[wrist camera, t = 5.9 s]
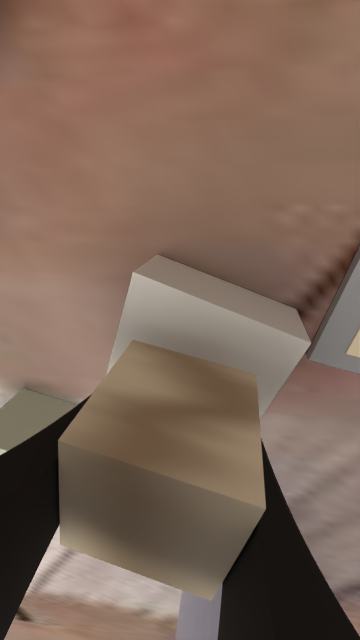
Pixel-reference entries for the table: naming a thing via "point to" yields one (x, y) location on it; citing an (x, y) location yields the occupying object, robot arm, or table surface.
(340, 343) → the card
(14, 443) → the sage cube
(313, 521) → the table surface
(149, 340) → the base block
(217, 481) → the birch cube
